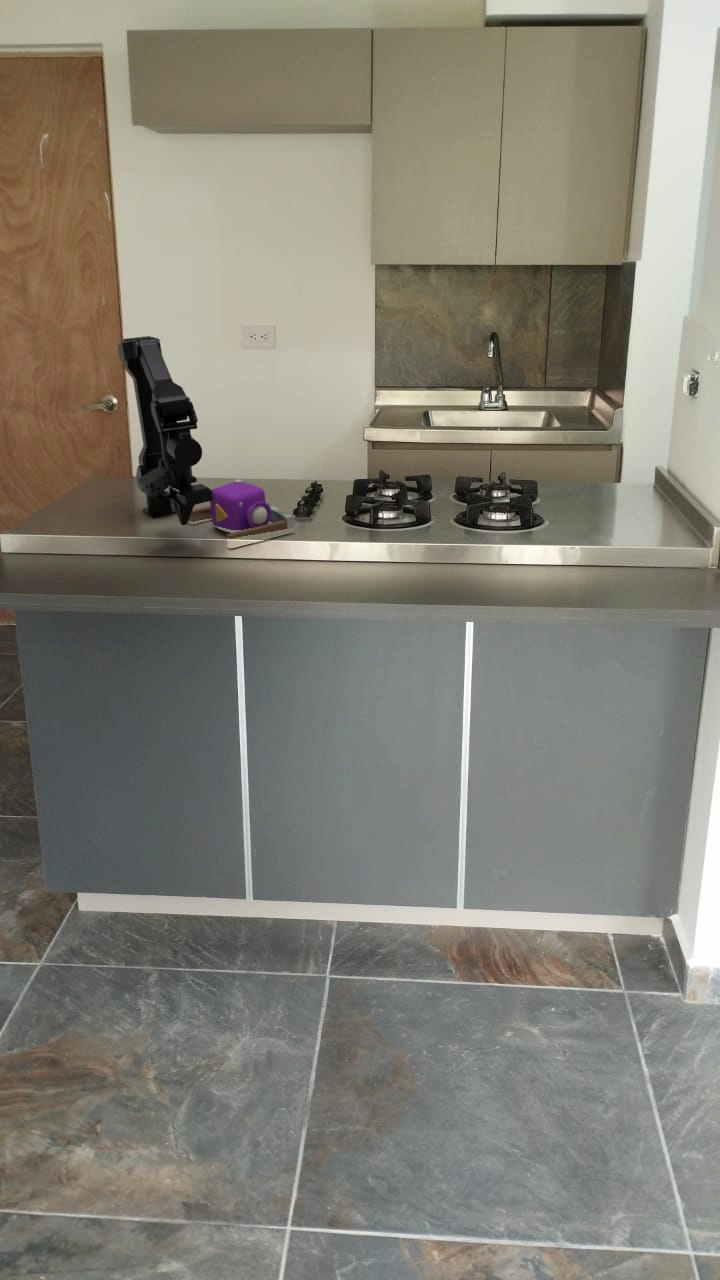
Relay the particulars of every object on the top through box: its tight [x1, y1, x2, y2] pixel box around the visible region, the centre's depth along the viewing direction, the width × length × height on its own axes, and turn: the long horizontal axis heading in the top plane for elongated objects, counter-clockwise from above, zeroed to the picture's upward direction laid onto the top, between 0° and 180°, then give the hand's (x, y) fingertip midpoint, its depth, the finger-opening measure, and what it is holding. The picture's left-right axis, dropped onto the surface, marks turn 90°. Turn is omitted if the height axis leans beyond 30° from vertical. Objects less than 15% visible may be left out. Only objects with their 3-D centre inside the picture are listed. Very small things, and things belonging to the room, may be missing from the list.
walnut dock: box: [188, 501, 294, 539], centre depth 239 cm, size 20×16×4 cm
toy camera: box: [209, 478, 271, 530], centre depth 237 cm, size 11×14×10 cm
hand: (183, 524), depth 231 cm, fingers closed
